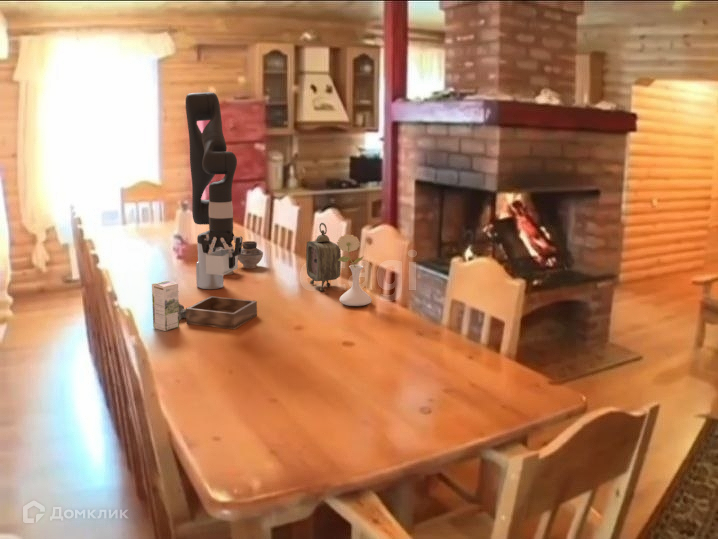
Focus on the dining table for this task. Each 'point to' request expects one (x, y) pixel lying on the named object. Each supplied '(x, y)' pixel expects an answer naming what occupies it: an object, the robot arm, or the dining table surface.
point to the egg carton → (182, 312)
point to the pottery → (249, 255)
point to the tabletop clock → (323, 259)
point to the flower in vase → (353, 273)
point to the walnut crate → (221, 312)
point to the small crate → (219, 262)
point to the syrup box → (165, 305)
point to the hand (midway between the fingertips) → (222, 267)
